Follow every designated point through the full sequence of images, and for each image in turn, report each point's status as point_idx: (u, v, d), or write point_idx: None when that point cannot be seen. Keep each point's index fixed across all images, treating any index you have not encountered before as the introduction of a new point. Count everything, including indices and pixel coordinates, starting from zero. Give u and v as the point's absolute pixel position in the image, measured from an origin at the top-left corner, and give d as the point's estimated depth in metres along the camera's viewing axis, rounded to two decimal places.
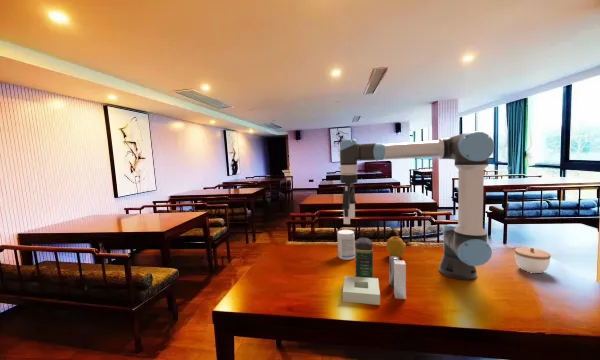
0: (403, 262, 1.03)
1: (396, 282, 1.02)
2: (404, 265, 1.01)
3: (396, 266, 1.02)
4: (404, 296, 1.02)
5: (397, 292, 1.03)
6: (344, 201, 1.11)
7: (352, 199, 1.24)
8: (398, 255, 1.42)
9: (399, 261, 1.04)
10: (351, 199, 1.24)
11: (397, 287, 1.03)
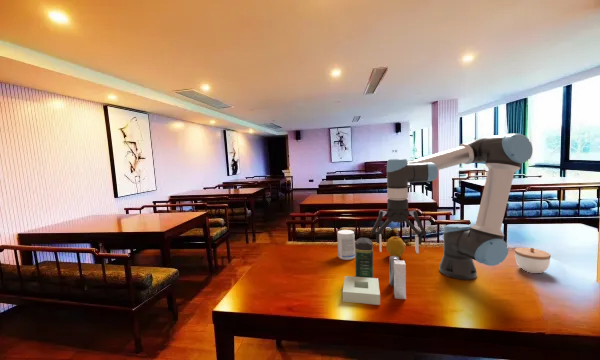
0: (403, 262, 1.03)
1: (396, 282, 1.02)
2: (404, 265, 1.01)
3: (396, 266, 1.02)
4: (404, 296, 1.02)
5: (397, 292, 1.03)
6: (374, 225, 1.05)
7: None
8: (398, 255, 1.42)
9: (399, 261, 1.04)
10: None
11: (397, 287, 1.03)
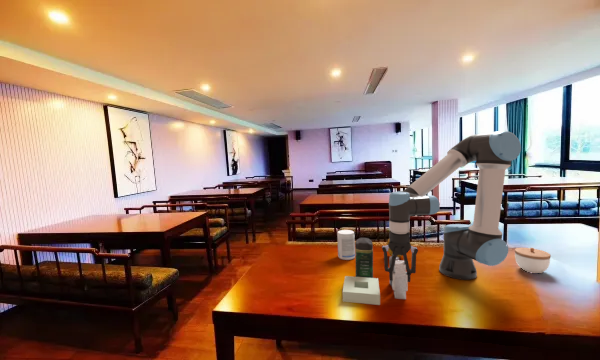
0: (403, 262, 1.03)
1: (396, 282, 1.02)
2: (404, 265, 1.01)
3: (396, 266, 1.02)
4: (404, 296, 1.02)
5: (397, 292, 1.03)
6: (384, 262, 1.05)
7: None
8: (398, 255, 1.42)
9: (399, 261, 1.04)
10: None
11: (397, 287, 1.03)
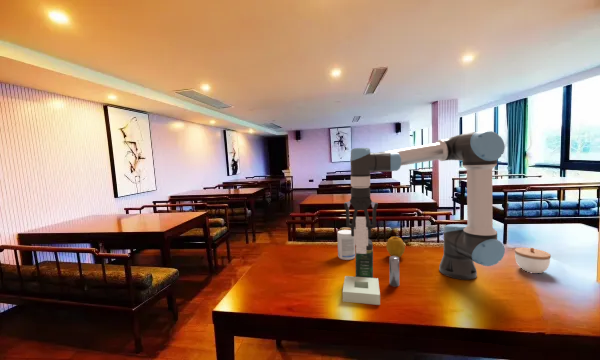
0: (364, 217, 1.04)
1: (356, 237, 1.04)
2: (364, 220, 1.02)
3: (357, 221, 1.03)
4: (364, 251, 1.03)
5: (358, 247, 1.04)
6: None
7: (366, 221, 1.04)
8: (398, 255, 1.42)
9: (361, 217, 1.05)
10: (366, 221, 1.04)
11: (358, 242, 1.04)
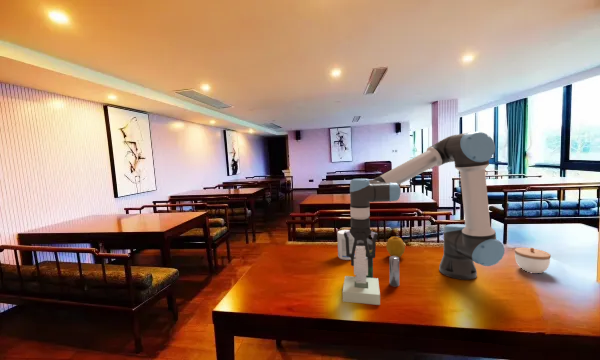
0: (364, 247, 1.05)
1: (356, 267, 1.05)
2: (364, 250, 1.03)
3: (356, 251, 1.04)
4: (364, 280, 1.04)
5: (358, 277, 1.05)
6: None
7: (366, 251, 1.05)
8: (398, 255, 1.42)
9: (360, 246, 1.06)
10: (366, 250, 1.05)
11: (358, 272, 1.05)
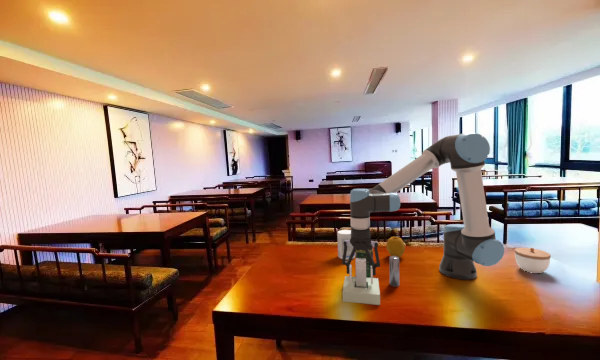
0: (364, 260, 1.06)
1: (357, 279, 1.05)
2: (364, 263, 1.04)
3: (357, 264, 1.05)
4: None
5: None
6: None
7: None
8: (398, 255, 1.42)
9: (360, 259, 1.07)
10: None
11: (358, 284, 1.05)
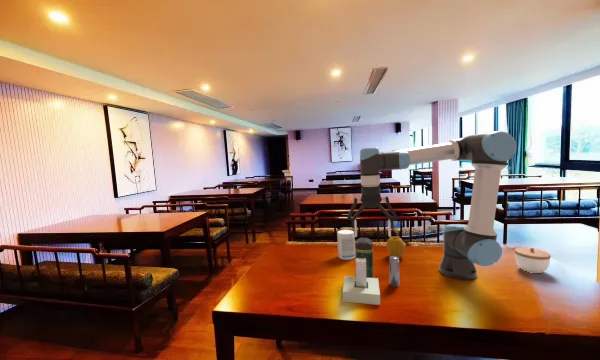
0: (364, 260, 1.06)
1: (357, 279, 1.05)
2: (364, 263, 1.04)
3: (357, 264, 1.05)
4: None
5: None
6: (349, 212, 1.11)
7: None
8: (398, 255, 1.42)
9: (361, 259, 1.07)
10: None
11: (358, 284, 1.05)
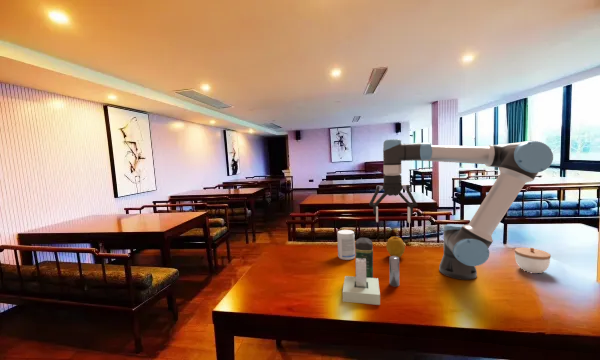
0: (364, 260, 1.06)
1: (357, 279, 1.05)
2: (364, 263, 1.04)
3: (357, 264, 1.05)
4: None
5: None
6: (371, 199, 1.19)
7: (406, 202, 1.15)
8: (398, 255, 1.42)
9: (361, 259, 1.07)
10: None
11: (358, 284, 1.05)
